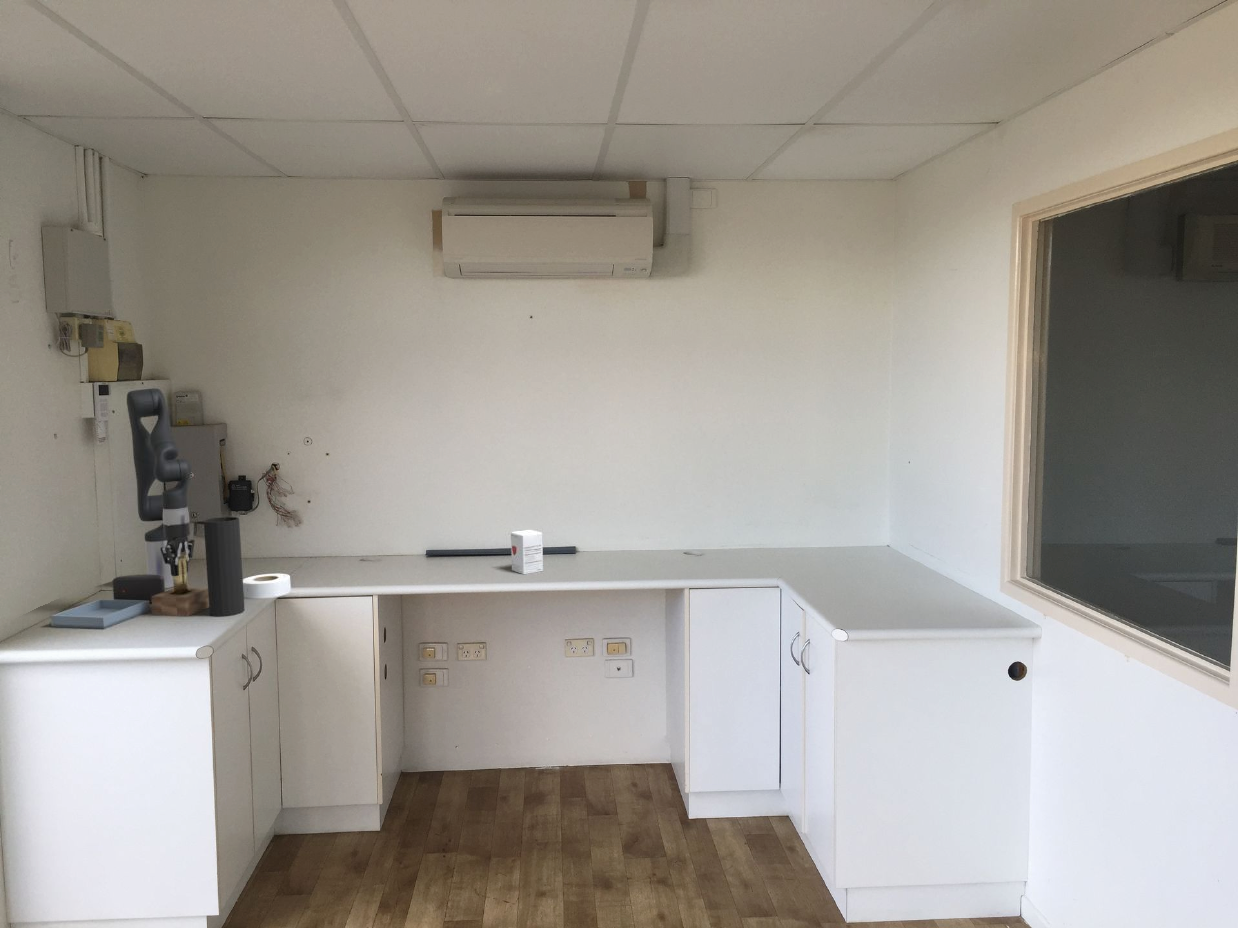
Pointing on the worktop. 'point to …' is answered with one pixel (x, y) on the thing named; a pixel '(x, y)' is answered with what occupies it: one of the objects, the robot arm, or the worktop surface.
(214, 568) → the vase
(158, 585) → the red-dot charcoal box
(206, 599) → the walnut pin block
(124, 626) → the worktop surface
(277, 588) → the roll of tape
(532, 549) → the supplement box
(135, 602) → the slate tray
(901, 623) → the worktop surface
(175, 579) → the brass pin
